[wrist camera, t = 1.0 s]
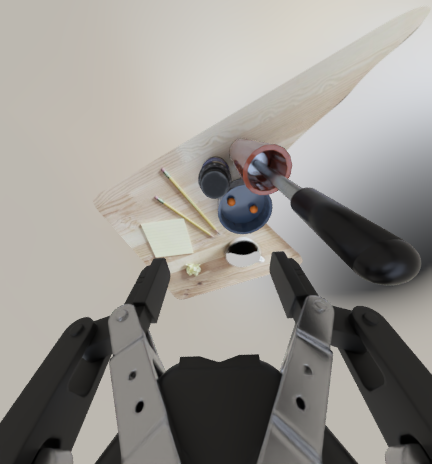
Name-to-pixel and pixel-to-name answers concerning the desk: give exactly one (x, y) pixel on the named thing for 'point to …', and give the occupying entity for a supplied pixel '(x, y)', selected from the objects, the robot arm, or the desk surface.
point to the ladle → (347, 231)
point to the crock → (248, 150)
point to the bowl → (243, 209)
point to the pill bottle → (214, 177)
